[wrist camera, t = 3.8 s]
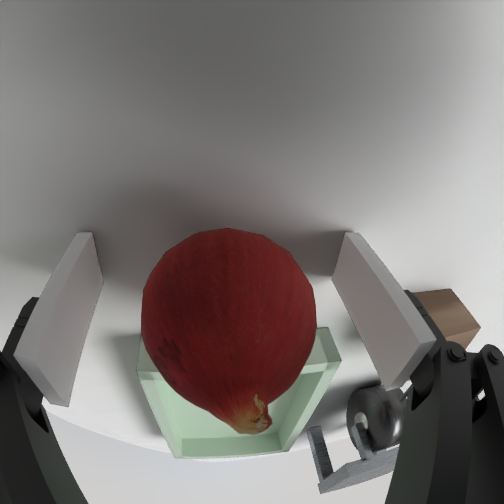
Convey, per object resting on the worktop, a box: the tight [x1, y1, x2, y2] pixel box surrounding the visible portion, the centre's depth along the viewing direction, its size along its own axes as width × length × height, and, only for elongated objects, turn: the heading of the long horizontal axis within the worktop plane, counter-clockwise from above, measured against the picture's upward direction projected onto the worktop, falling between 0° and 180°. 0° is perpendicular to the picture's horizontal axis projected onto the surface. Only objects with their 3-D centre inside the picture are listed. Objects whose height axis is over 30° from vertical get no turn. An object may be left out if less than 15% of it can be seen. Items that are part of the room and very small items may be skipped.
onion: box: [141, 228, 317, 435], centre depth 10 cm, size 6×6×8 cm
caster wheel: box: [307, 385, 407, 494], centre depth 22 cm, size 11×8×8 cm
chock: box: [407, 289, 481, 381], centre depth 16 cm, size 4×5×4 cm
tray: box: [136, 327, 342, 459], centre depth 19 cm, size 16×11×2 cm
